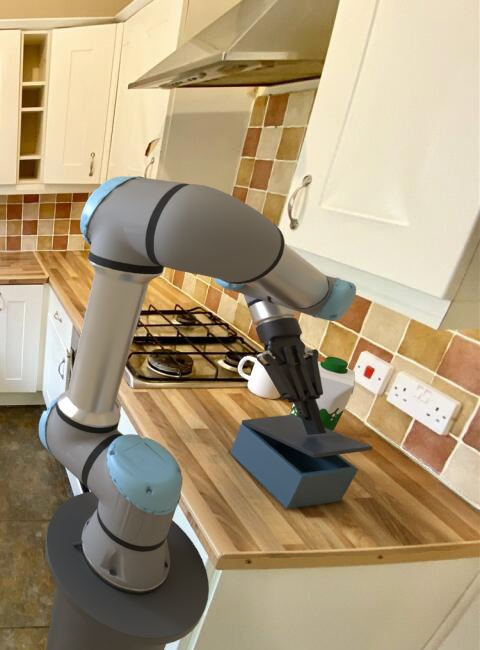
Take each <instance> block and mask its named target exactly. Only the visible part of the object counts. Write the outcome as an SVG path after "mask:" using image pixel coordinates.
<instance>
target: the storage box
mask: <svg viewBox="0 0 480 650" xmlns="http://www.w3.org/2000/svg"><path fill="white" fill-rule="evenodd" d="M230 454H231V456H233V457H234V459H236V460H237V461H238V462H239V463H240V465H242V466H243V468H245V470H247V471H248V472H249V473H250V474H251V475H252V476H253V477H254V479H256V480H257V481H258V482H259V483H260V484H261V485H262V486H263V487H264V488H265V489H266V490H267V491H268V492H269V493H270V494H271V495H272V496H273V497H274V498H275V499H276V500H277V501H278V502H279V503H280V505H282V506H283V507H284V508H285V509H286V510H288V509H295V508H302V507H310V506H315V505H323V504H329V503H336V502H341V501H342V500H343V498H344V497H345V495H346V493H347V491H348V489H349V487H350V486H351V484H352V482H353V480H354V478H355V477H356V475H357V473H358V472H359V468H358V467H357V466H356V465H354V464H353V463H351V462H350V461H348V460H347V459H346V458H345V457H344V456H342V454H339V455H331V456H323V457H316V458H313V457H311V456H309V455H307V454H305V453H303V452H301V451H299V450H296V449H294V448H292V447H290V446H288V445H286V444H284V443H282V442H280V441H278V440H276V439H273V438H271V437H269V436H267V435H265V434H263V433H261V432H259V431H257V430H255V429H253V428H250V427H248V426H246V425H244V424H242V422H241V423H240V426H239V428H238V431H237V433H236V436H235V439H234V442H233V446H232V447H231V450H230Z"/></svg>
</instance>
